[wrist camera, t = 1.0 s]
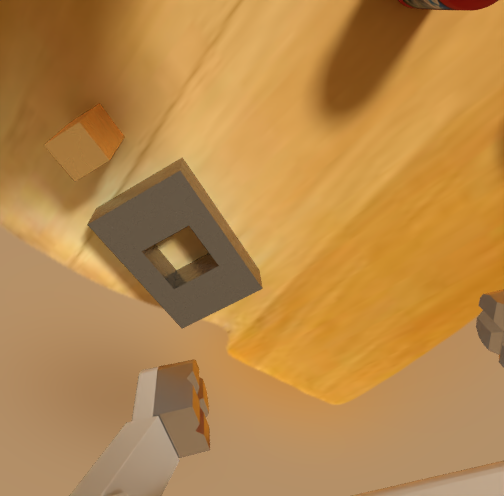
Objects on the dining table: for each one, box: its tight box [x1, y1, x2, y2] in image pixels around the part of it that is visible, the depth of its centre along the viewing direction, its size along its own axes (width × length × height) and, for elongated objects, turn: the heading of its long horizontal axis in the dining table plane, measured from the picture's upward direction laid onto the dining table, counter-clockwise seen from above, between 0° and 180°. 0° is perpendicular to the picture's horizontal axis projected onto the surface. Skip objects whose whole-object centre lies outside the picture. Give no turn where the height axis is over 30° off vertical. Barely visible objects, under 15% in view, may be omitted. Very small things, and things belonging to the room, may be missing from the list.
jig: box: [87, 158, 263, 328], centre depth 49 cm, size 18×12×4 cm, turn 29°
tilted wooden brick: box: [44, 103, 124, 181], centre depth 39 cm, size 4×4×8 cm
